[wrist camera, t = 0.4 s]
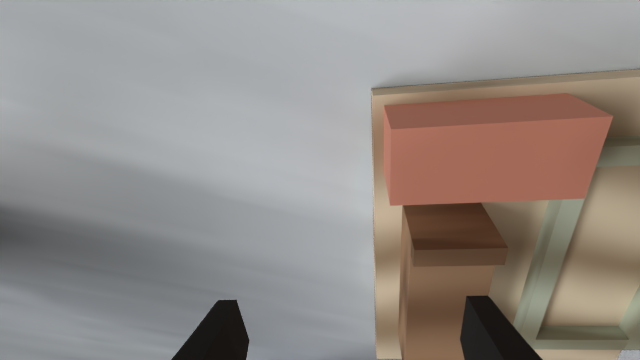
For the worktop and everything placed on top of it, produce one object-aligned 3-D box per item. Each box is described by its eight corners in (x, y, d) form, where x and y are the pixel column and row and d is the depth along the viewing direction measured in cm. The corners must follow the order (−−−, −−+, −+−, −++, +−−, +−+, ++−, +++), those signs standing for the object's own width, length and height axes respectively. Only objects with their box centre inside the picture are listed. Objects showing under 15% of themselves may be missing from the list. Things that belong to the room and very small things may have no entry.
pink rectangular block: (547, 165, 17) (584, 198, 14) (383, 173, 18) (390, 205, 15) (567, 92, 15) (613, 116, 12) (383, 105, 16) (391, 129, 13)
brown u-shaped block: (457, 333, 24) (474, 389, 20) (398, 333, 24) (406, 388, 21) (479, 199, 18) (508, 248, 15) (402, 202, 18) (414, 250, 15)
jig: (604, 345, 25) (625, 375, 23) (375, 344, 27) (377, 371, 25) (749, 61, 15) (808, 72, 13) (371, 88, 17) (374, 102, 15)
